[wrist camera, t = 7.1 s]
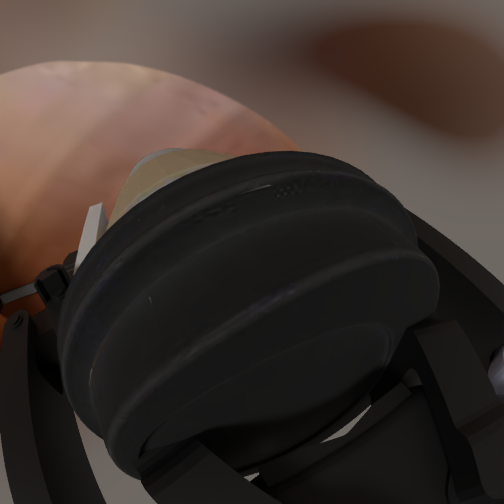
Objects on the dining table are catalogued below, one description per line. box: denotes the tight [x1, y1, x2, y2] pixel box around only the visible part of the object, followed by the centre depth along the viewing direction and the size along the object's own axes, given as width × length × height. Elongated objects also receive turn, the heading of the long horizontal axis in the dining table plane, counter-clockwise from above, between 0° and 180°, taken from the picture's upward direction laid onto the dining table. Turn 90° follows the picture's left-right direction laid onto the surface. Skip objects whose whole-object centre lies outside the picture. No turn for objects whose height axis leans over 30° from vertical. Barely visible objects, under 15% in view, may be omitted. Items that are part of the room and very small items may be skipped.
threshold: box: [0, 282, 37, 304], centre depth 21 cm, size 14×1×1 cm, turn 96°
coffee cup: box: [57, 148, 440, 480], centre depth 11 cm, size 9×9×15 cm
